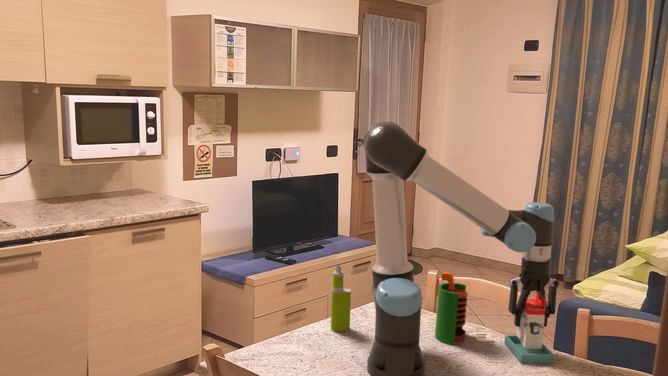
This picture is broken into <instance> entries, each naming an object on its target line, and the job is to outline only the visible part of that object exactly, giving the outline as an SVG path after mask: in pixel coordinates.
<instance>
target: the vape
mask: <svg viewBox="0 0 668 376" xmlns="http://www.w3.org/2000/svg"><path fill="white" fill-rule="evenodd" d="M344 274H345V272H344V271H342V266H340V265H336V266H335V270H334V271H333V272H332V277H333V278H332V289H331V295H330V296H331V297H330V298H331V304H330V305H331V306H330V307H331V310H330V312H331V313H330V330H331V331H332V330H333V331H332V332H335V331H347V332H349V331H350V329H351V327H350V326H351V299H352V297H351V295H352V289H351V288H348V287H344V277H345V275H344Z"/></svg>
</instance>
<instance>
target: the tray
mask: <svg viewBox="0 0 668 376" xmlns="http://www.w3.org/2000/svg"><path fill="white" fill-rule="evenodd" d="M504 345H505V346H506V347H507V349H509V351H510V352H511V353H512V354H513V356H514V357H515V358H516V360H517V361H518V362H519V363H520V364H544V365H545V364H546V365H547V364H548V365H549V364H552V365H553V363H555V354H554V353H553V351H551V350H550V349H549V348H548V346H546V345H545V343H544V342H542V349H528V348H524V346H523V345H522V343H521V342H520V340H519V339H518V337H517V335H516V334H511V335H510V334H504Z"/></svg>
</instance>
